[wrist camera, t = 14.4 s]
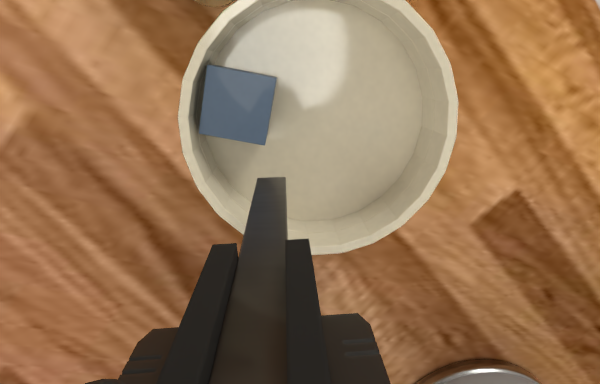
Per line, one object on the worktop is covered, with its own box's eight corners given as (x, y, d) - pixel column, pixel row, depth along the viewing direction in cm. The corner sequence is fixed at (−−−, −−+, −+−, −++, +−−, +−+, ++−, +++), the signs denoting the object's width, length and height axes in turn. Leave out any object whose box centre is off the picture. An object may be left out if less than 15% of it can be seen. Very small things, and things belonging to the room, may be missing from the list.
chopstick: (286, 203, 23) (297, 574, 6) (258, 204, 23) (190, 580, 6) (285, 176, 23) (294, 493, 6) (257, 177, 23) (178, 500, 6)
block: (267, 135, 29) (264, 146, 25) (209, 125, 28) (198, 133, 24) (277, 77, 28) (276, 78, 24) (217, 65, 27) (206, 64, 23)
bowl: (423, 216, 32) (451, 246, 26) (211, 230, 31) (197, 263, 26) (430, -15, 27) (465, -36, 22) (182, -2, 27) (158, -20, 21)
